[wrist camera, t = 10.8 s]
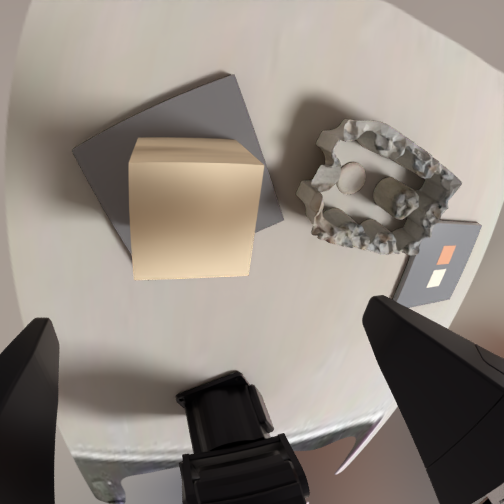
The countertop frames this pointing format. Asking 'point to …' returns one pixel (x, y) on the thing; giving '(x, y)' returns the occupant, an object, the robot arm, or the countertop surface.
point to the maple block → (192, 207)
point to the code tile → (437, 264)
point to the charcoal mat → (178, 126)
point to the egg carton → (378, 191)
